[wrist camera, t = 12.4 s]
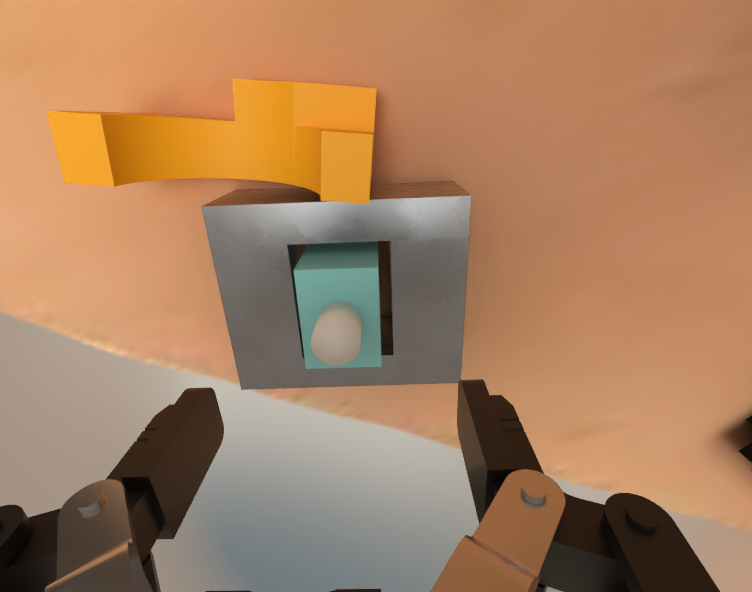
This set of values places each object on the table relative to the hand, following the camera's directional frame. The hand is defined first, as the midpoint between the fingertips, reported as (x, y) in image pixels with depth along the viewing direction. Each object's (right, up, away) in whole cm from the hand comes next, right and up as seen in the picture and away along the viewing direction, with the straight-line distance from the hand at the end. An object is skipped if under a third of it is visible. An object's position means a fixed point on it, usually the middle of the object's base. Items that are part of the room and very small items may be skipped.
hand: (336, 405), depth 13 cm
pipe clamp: (-5, +12, +8) cm, 15 cm away
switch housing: (0, +5, +11) cm, 12 cm away
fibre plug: (0, +5, +11) cm, 12 cm away
